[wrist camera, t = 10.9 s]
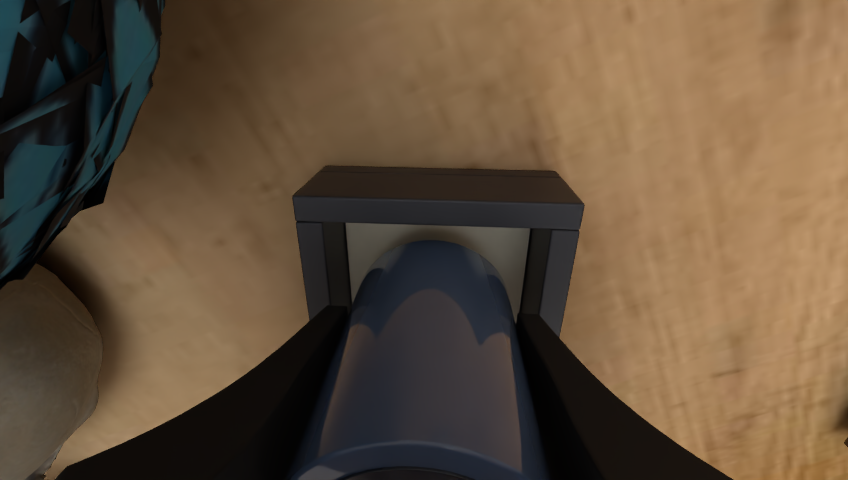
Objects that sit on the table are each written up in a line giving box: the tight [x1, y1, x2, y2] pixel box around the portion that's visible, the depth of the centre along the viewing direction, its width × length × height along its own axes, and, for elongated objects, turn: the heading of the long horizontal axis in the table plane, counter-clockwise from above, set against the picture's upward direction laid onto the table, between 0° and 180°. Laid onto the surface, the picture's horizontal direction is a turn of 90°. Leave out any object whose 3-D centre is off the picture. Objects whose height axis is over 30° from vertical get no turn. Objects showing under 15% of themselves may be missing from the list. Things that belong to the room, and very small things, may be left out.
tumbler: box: [285, 240, 553, 480], centre depth 10 cm, size 5×5×7 cm
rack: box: [292, 166, 585, 337], centre depth 16 cm, size 15×8×3 cm, turn 0°
